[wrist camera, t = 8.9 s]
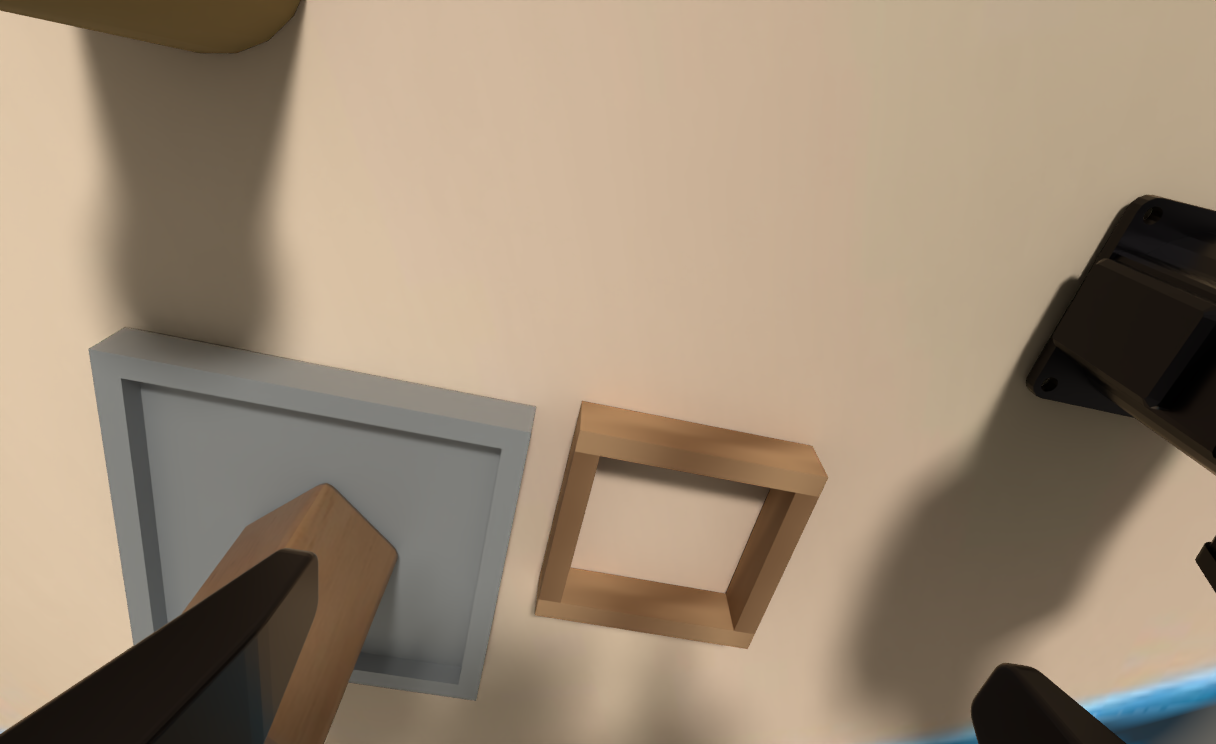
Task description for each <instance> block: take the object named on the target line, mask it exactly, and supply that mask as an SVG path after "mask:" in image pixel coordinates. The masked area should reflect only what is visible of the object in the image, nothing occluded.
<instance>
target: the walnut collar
mask: <svg viewBox="0 0 1216 744" xmlns="http://www.w3.org/2000/svg"><path fill="white" fill-rule="evenodd" d="M600 456H602V457H608V458H613V459H618V460H624V461H629V462H634V463H640V464H645V465H651V466H656V467H661V468H667V469H672V470H677V471H683V472H688V473H693V474H699V475H704V476H709V477H715V478H720V479H725V480H731V481H736V482H741V483H747V484H752V485H757V486H763V487H768V488H770V491H769V493H768V496H767V498H766V500H765V503H764V505H763V507H762V510H761V512H760V514H759V517H758V519H757V521H756V524H755V526H754V529H753V531H752V533H751V536H750V538H749V540H748V543H747V545H746V547H745V550H744V552H743V554H742V557H741V559H740V562H739V564H738V566H737V569H736V571H735V573H734V576H733V578H732V580H731V583H730V585H729V587H728V590H727V592H726V594H724V593H718V592H712V591H706V590H700V589H694V588H688V587H682V586H676V585H670V584H664V583H658V582H652V581H647V580H641V579H635V578H629V577H623V576H617V575H611V574H605V573H599V572H593V571H587V570H581V569H575V568H570V566H571V562H572V559H573V555H574V551H575V547H576V544H577V540H578V536H579V533H580V529H581V525H582V521H583V518H584V514H585V510H586V506H587V503H588V499H589V495H590V491H591V488H592V484H593V480H594V477H595V473H596V469H597V465H598V462H599V458H600ZM827 479H828V476H827V474H826V472H825V470H824V468H823V466H822V464H821V462H820V460H819V458H818V456H817V454H816V452H815V450H814V448H813V447H812V446H809V445H804V444H799V443H794V442H789V441H784V440H779V439H774V438H769V437H763V436H758V435H753V434H748V433H743V432H738V431H733V430H728V429H723V428H717V427H712V426H707V425H702V424H697V423H692V422H687V421H682V420H677V419H671V418H666V417H661V416H656V415H651V414H646V413H641V412H636V411H631V410H626V409H620V408H615V407H610V406H605V405H600V404H595V403H590V402H585V401H582V403H581V408H580V412H579V416H578V420H577V424H576V428H575V432H574V437H573V441H572V445H571V449H570V453H569V457H568V461H567V466H566V470H565V474H564V478H563V482H562V486H561V490H560V495H559V499H558V503H557V507H556V511H555V515H554V519H553V524H552V528H551V532H550V536H549V540H548V544H547V548H546V553H545V557H544V561H543V565H542V569H541V573H540V577H539V585H538V593H537V601H536V609H535V615H537V616H544V617H550V618H556V619H562V620H569V621H575V622H581V623H588V624H594V625H600V626H606V627H613V628H619V629H625V630H632V631H638V632H644V633H650V634H657V635H663V636H669V637H675V638H682V639H688V640H694V641H701V642H707V643H713V644H719V645H726V646H732V647H738V648H745V649H748V647H749V645H750V643H751V641H752V639H753V636H754V634H755V632H756V630H757V628H758V626H759V624H760V622H761V619H762V617H763V615H764V613H765V611H766V609H767V607H768V605H769V602H770V600H771V598H772V596H773V594H774V592H775V590H776V588H777V585H778V583H779V581H780V579H781V577H782V575H783V573H784V571H785V568H786V566H787V564H788V562H789V560H790V558H791V556H792V554H793V551H794V549H795V547H796V545H797V543H798V541H799V539H800V536H801V534H802V532H803V530H804V528H805V526H806V524H807V522H808V519H809V517H810V515H811V513H812V511H813V509H814V507H815V505H816V502H817V500H818V498H819V496H820V494H821V492H822V490H823V488H824V485H825V483H826V481H827Z"/></svg>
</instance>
